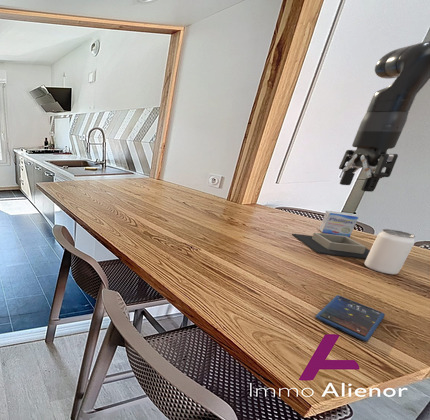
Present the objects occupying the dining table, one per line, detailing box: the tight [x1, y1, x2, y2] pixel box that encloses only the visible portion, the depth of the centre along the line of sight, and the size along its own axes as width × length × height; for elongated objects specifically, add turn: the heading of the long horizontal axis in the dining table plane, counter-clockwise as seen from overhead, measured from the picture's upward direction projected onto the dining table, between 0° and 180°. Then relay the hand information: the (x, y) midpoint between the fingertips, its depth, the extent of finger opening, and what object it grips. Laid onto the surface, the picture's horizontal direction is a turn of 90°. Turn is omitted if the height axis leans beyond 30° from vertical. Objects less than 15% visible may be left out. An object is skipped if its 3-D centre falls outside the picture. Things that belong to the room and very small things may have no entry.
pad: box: [291, 232, 371, 261], centre depth 86 cm, size 18×16×3 cm
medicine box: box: [318, 210, 359, 238], centre depth 97 cm, size 8×4×9 cm, turn 55°
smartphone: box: [315, 294, 386, 342], centre depth 54 cm, size 8×1×15 cm
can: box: [363, 228, 416, 276], centre depth 72 cm, size 6×6×12 cm
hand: (355, 187), depth 71 cm, fingers open, 8 cm apart
